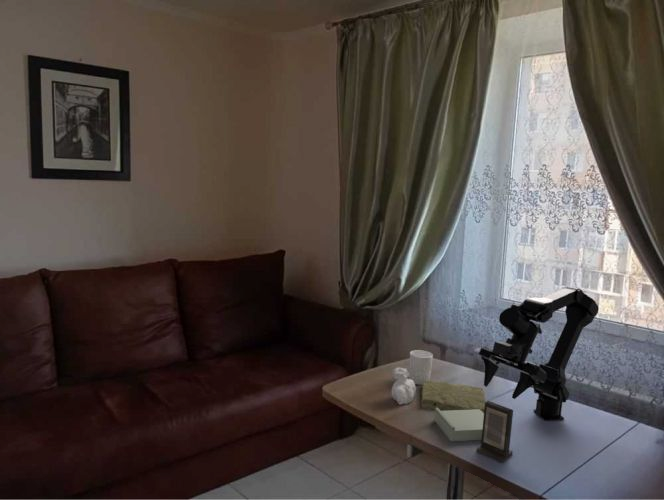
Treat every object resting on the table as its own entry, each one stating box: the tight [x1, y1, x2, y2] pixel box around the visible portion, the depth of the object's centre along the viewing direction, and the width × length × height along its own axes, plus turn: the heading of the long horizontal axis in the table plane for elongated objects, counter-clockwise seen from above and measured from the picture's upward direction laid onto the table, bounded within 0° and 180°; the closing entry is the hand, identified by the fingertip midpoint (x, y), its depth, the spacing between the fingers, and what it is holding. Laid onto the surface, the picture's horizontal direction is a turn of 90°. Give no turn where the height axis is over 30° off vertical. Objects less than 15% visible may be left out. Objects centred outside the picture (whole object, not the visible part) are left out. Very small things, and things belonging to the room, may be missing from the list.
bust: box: [391, 367, 417, 405], centre depth 167 cm, size 12×8×11 cm
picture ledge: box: [434, 408, 484, 442], centre depth 149 cm, size 14×12×4 cm
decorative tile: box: [421, 380, 486, 413], centre depth 167 cm, size 18×20×4 cm
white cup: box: [409, 349, 434, 386], centre depth 182 cm, size 8×8×10 cm
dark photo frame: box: [476, 400, 514, 464], centre depth 136 cm, size 6×7×13 cm
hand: (498, 392), depth 144 cm, fingers open, 9 cm apart
